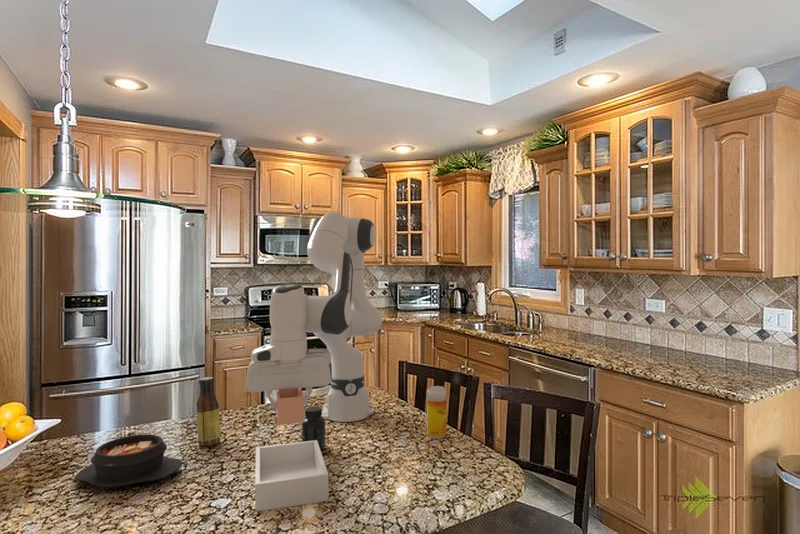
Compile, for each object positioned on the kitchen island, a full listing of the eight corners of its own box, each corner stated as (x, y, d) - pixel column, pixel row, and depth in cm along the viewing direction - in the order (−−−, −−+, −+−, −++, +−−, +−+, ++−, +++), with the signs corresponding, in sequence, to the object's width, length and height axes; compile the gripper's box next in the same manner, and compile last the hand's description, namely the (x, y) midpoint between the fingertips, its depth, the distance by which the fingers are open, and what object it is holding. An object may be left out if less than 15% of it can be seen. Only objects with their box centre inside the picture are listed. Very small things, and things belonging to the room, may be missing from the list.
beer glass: (447, 439, 144) (446, 390, 144) (427, 439, 144) (426, 390, 144) (445, 432, 150) (445, 385, 150) (426, 432, 150) (426, 385, 150)
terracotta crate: (276, 408, 121) (275, 385, 121) (299, 406, 123) (299, 383, 123) (278, 425, 109) (277, 399, 109) (304, 422, 110) (304, 396, 110)
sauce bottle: (223, 439, 146) (223, 375, 146) (214, 447, 140) (213, 380, 140) (203, 439, 147) (202, 375, 147) (193, 446, 141) (192, 380, 140)
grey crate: (256, 469, 124) (255, 447, 124) (317, 461, 129) (317, 440, 129) (255, 511, 103) (255, 484, 103) (328, 500, 108) (328, 474, 108)
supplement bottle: (296, 451, 136) (296, 410, 136) (311, 443, 142) (311, 404, 142) (315, 456, 133) (315, 413, 133) (330, 447, 139) (329, 407, 139)
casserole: (55, 494, 112) (55, 459, 112) (105, 461, 131) (105, 431, 131) (159, 494, 112) (159, 459, 112) (195, 461, 130) (194, 431, 130)
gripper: (329, 345, 122) (329, 399, 122) (246, 350, 116) (246, 406, 116) (332, 349, 116) (333, 406, 116) (245, 355, 110) (246, 414, 110)
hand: (289, 406), depth 116 cm, fingers closed on terracotta crate, 6 cm apart
